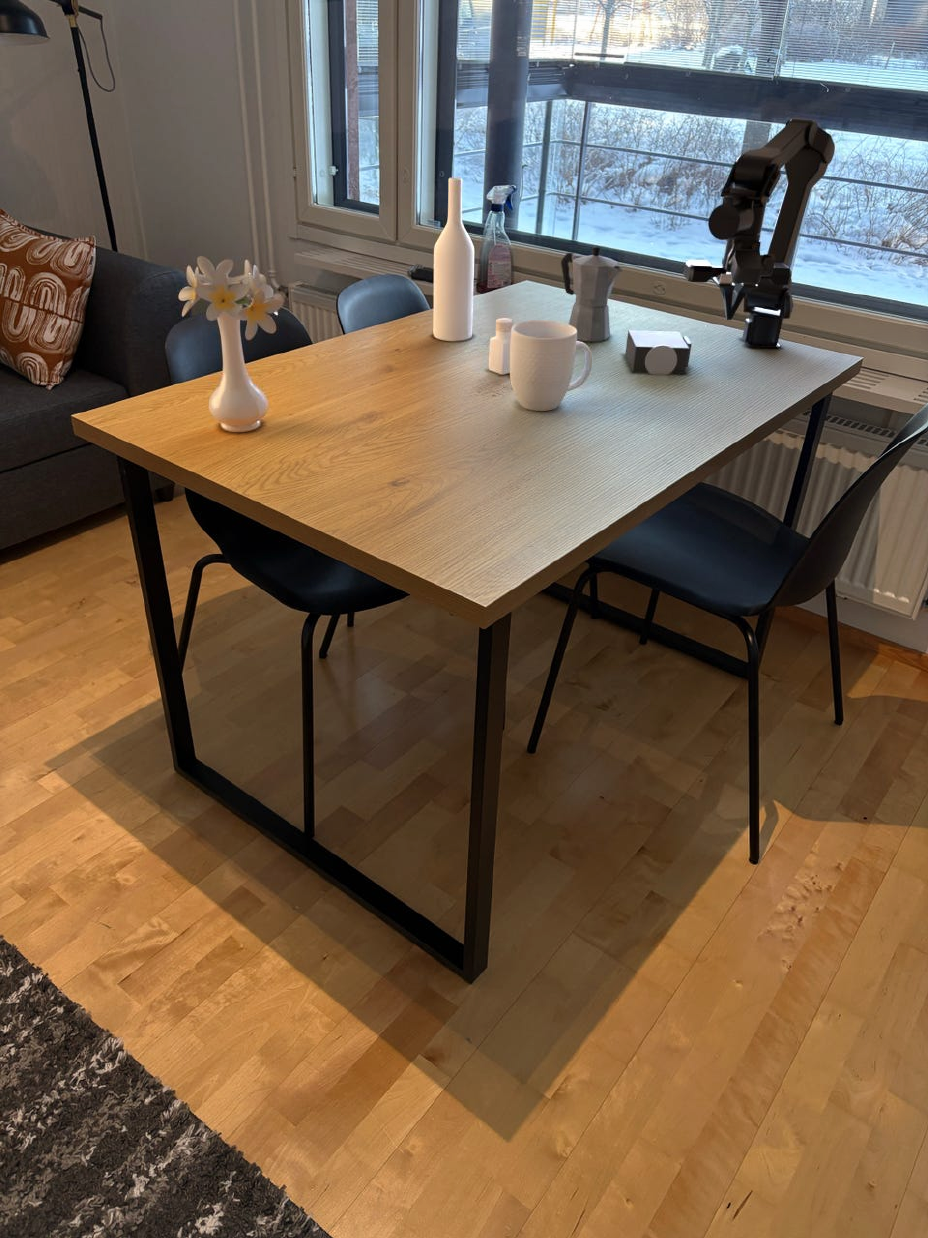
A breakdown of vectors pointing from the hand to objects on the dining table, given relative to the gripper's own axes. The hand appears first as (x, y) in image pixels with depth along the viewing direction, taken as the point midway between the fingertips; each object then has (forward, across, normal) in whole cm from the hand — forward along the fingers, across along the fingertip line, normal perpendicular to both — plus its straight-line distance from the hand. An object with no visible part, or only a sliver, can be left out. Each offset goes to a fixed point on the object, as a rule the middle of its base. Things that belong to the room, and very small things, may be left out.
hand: (728, 319), depth 173 cm
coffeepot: (+9, -25, +19) cm, 33 cm away
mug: (+9, -36, -24) cm, 44 cm away
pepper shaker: (+9, -43, -7) cm, 44 cm away
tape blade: (+9, -12, 0) cm, 14 cm away
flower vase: (+9, -85, -38) cm, 93 cm away
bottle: (+9, -53, +15) cm, 56 cm away
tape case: (+9, -13, 0) cm, 16 cm away
